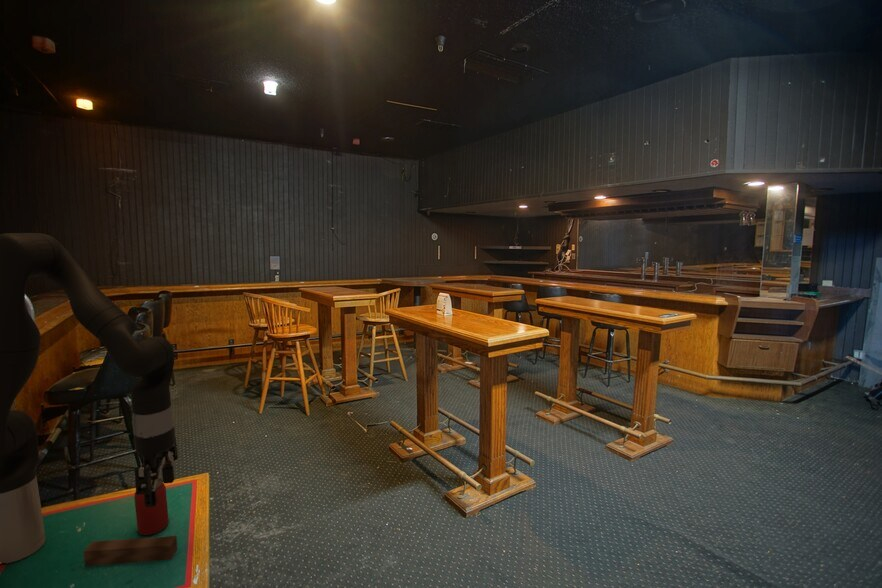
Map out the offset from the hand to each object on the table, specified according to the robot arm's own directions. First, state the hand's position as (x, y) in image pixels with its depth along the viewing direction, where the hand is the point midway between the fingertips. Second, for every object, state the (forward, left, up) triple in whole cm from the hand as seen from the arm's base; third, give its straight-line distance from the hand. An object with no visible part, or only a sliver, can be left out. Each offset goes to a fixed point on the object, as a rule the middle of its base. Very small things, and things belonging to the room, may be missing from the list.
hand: (160, 493), depth 98 cm
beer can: (-7, +10, -16) cm, 20 cm away
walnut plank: (-7, 0, -16) cm, 18 cm away
